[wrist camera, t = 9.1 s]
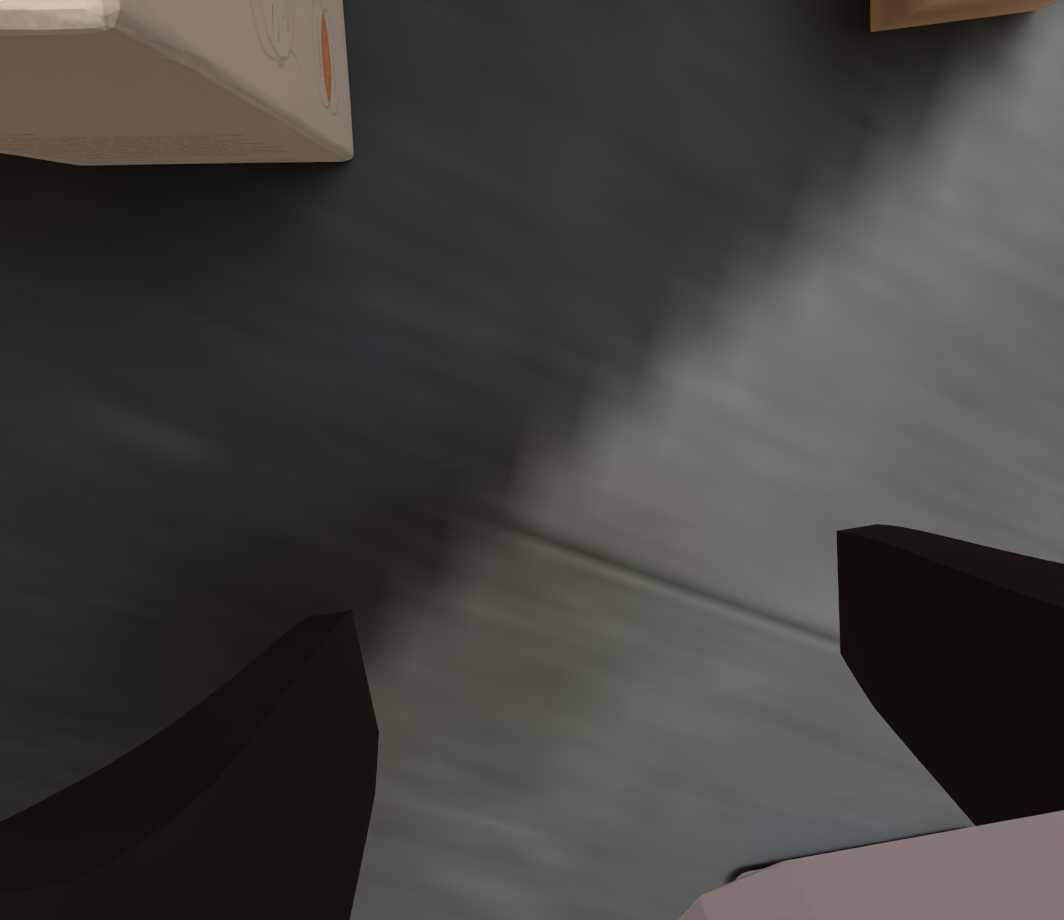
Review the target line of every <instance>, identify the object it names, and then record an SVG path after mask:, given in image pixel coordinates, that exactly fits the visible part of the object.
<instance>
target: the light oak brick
mask: <svg viewBox="0 0 1064 920" xmlns="http://www.w3.org/2000/svg"><path fill="white" fill-rule="evenodd" d="M1059 1H1061V0H870V27H871V32H876V31H884V30H891V29H899V28H907V27H914V26H922V25H930V24H937V23H945V22H953V21H960V20H968V19H976V18H983V17H991V16H999V15H1007V14H1014V13H1022V12H1030V11H1036V10H1038V9H1041V8H1043V7H1046V6H1048V5H1051V4H1054V3H1056V2H1059Z"/></svg>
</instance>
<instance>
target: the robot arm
mask: <svg viewBox="0 0 1064 920" xmlns="http://www.w3.org/2000/svg"><path fill="white" fill-rule="evenodd" d="M837 557H838V588H839V620H840V651H841V655H842V657H843V659H844V660H845V662H846V663H847V665H848V667H849V668H850V670H851V672H852V673H853V675H854V677H855V678H856V680H857V682H858V683H859V685H860V686H861V688H862V689H863V691H864V693H865V694H866V696H867V697H868V699H869V700H870V702H871V703H872V705H873V706H874V708H875V709H876V710H877V711H878V712H879V714H880V715H881V716H882V717H883V719H884V720H885V721H886V722H887V723H888V725H889V726H890V727H891V728H892V729H893V730H894V732H895V733H896V734H897V735H898V736H899V738H900V739H901V740H902V741H903V742H904V743H905V745H906V746H907V747H908V748H909V749H910V750H911V752H912V753H913V754H914V755H915V756H916V757H917V759H918V760H919V761H920V762H921V763H922V764H923V765H924V767H925V768H926V769H927V770H928V771H929V772H930V774H931V775H932V776H933V777H934V778H935V779H936V780H937V782H938V783H939V784H940V785H941V786H942V787H943V789H944V790H945V791H946V792H947V793H948V794H949V796H950V797H951V798H952V799H953V800H954V801H955V802H956V804H957V805H958V806H959V807H960V808H961V809H962V811H963V812H964V813H965V814H966V815H967V816H968V817H969V819H970V820H971V821H972V822H973V823H974V824H975V826H974V827H969V828H963V829H958V830H952V831H947V832H941V833H936V834H930V835H925V836H919V837H914V838H908V839H902V840H897V841H891V842H886V843H880V844H875V845H869V846H864V847H858V848H853V849H847V850H842V851H836V852H831V853H825V854H820V855H814V856H808V857H803V858H797V859H792V860H786V861H781V862H778V863H776V864H774V865H771V866H769V867H766V868H764V869H759V870H753V871H748V872H745V873H742V874H741V875H739V876H738V877H737V878H736V880H735V881H732V882H730V883H727V884H725V885H722V886H720V887H717V888H715V889H713V890H710V891H708V892H705V893H703V894H702V895H701V896H699V897H698V899H697V900H696V901H695V902H694V903H693V904H692V905H691V906H690V907H689V908H688V909H687V910H686V912H685V913H684V914H683V915H682V916H681V917H680V918H679V919H678V920H1064V564H1062V563H1057V562H1052V561H1047V560H1043V559H1038V558H1034V557H1029V556H1025V555H1020V554H1016V553H1012V552H1008V551H1003V550H999V549H995V548H991V547H987V546H982V545H978V544H974V543H970V542H966V541H962V540H958V539H954V538H949V537H945V536H941V535H937V534H932V533H928V532H924V531H919V530H914V529H909V528H904V527H898V526H891V525H879V524H876V525H870V526H864V527H858V528H852V529H845V530H839V531H837ZM378 736H379V731H378V727H377V722H376V718H375V713H374V709H373V704H372V700H371V695H370V691H369V686H368V682H367V677H366V673H365V668H364V664H363V659H362V655H361V650H360V646H359V641H358V637H357V632H356V628H355V623H354V619H353V614H352V610H348V611H342V612H336V613H330V614H324V615H318V616H312V617H308V618H307V619H305V620H303V621H302V622H300V623H299V624H298V625H296V626H295V627H294V628H292V629H291V630H290V631H289V632H287V633H286V634H285V635H284V636H282V637H281V638H280V639H279V640H278V641H276V642H275V643H274V644H273V645H272V646H270V647H269V648H268V649H267V650H266V651H264V652H263V653H262V654H261V655H260V656H258V657H257V658H256V659H255V660H254V661H252V662H251V663H250V664H249V665H248V666H246V667H245V668H244V669H243V670H242V671H240V672H239V673H238V674H237V675H235V676H234V677H233V678H232V679H231V680H229V681H228V682H227V683H226V684H224V685H223V686H222V687H220V688H219V689H218V690H216V691H215V692H214V693H212V694H211V695H210V696H208V697H207V698H206V699H204V700H203V701H202V702H201V703H199V704H198V705H197V706H195V707H194V708H193V709H191V710H190V711H189V712H187V713H186V714H185V715H183V716H182V717H181V718H179V719H178V720H177V721H175V722H174V723H172V724H171V725H170V726H168V727H167V728H165V729H164V730H162V731H161V732H159V733H158V734H156V735H155V736H153V737H152V738H150V739H149V740H147V741H146V742H144V743H143V744H141V745H140V746H138V747H136V748H135V749H133V750H132V751H130V752H128V753H127V754H125V755H124V756H122V757H120V758H119V759H117V760H115V761H114V762H112V763H111V764H109V765H107V766H106V767H104V768H102V769H100V770H99V771H97V772H95V773H93V774H91V775H90V776H88V777H86V778H84V779H82V780H80V781H78V782H76V783H75V784H73V785H71V786H69V787H67V788H65V789H63V790H61V791H60V792H58V793H56V794H54V795H52V796H50V797H48V798H46V799H45V800H43V801H41V802H39V803H37V804H35V805H33V806H31V807H30V808H28V809H26V810H24V811H22V812H20V813H18V814H16V815H14V816H12V817H10V818H7V819H5V820H3V821H1V822H0V920H350V915H351V910H352V905H353V900H354V895H355V891H356V886H357V881H358V876H359V871H360V866H361V862H362V857H363V852H364V847H365V842H366V837H367V832H368V827H369V822H370V817H371V812H372V807H373V801H374V796H375V787H376V773H377V756H378Z"/></svg>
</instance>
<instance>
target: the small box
mask: <svg viewBox="0 0 1064 920" xmlns="http://www.w3.org/2000/svg"><path fill="white" fill-rule="evenodd" d="M0 153H3V154H12V155H18V156H24V157H30V158H36V159H42V160H48V161H54V162H60V163H68V164H74V165H142V164H202V163H270V162H341V161H348V160H350V159H352V157H353V155H354V153H353V137H352V121H351V105H350V92H349V79H348V65H347V52H346V39H345V26H344V13H343V1H342V0H0Z"/></svg>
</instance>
